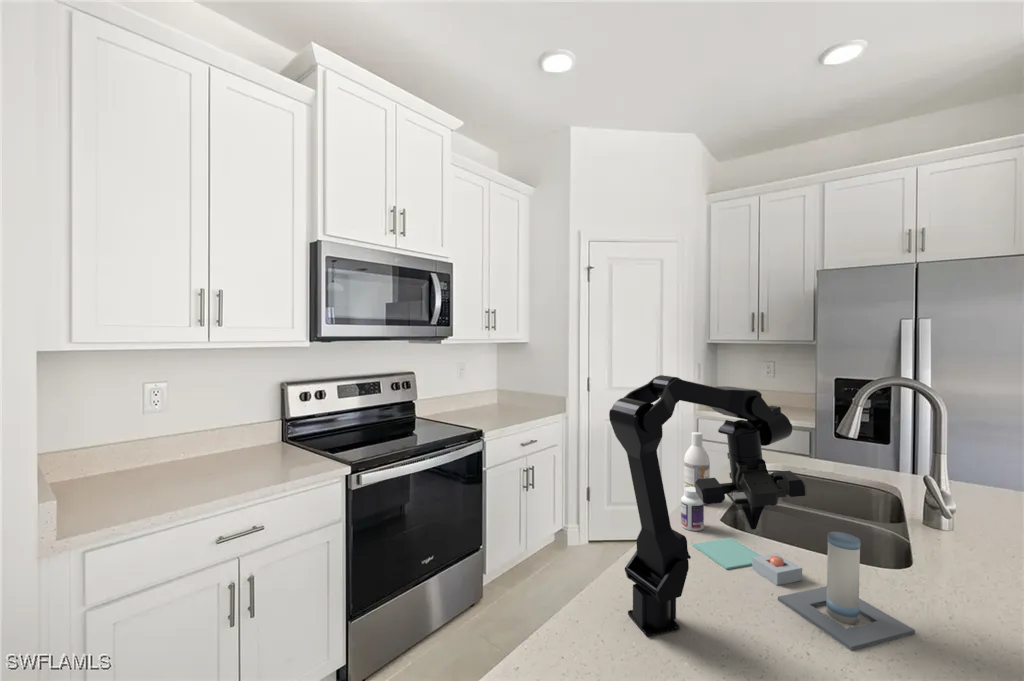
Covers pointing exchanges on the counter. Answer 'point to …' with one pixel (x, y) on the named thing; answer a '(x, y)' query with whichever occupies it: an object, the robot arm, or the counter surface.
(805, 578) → the counter surface
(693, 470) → the body lotion
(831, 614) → the cartridge
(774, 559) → the release button
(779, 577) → the block
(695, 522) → the pill bottle
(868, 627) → the port plate
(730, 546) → the rubber mat
